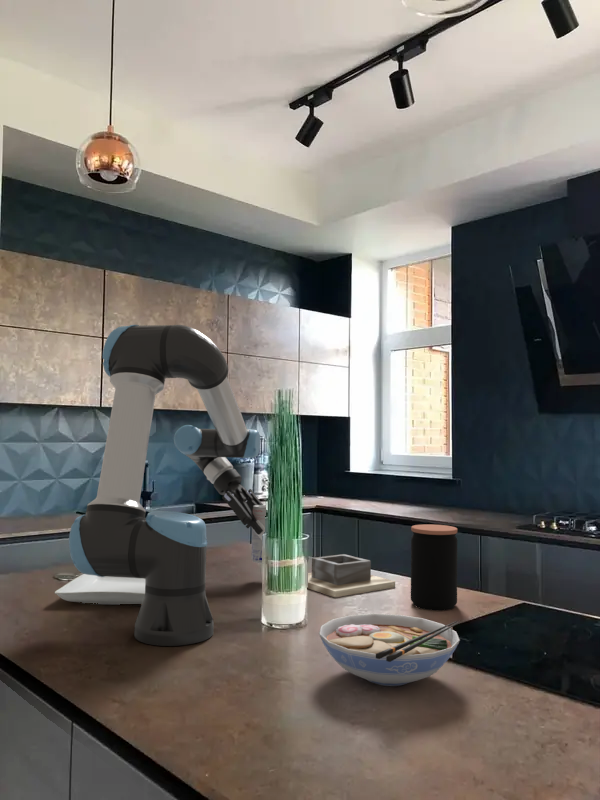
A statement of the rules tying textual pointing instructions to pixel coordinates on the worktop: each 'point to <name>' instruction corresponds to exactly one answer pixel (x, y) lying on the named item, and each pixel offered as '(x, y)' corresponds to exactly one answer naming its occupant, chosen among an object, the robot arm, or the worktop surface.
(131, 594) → the square plate
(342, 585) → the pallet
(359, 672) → the ramen bowl
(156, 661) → the worktop surface
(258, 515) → the beverage can
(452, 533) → the coffee jar
